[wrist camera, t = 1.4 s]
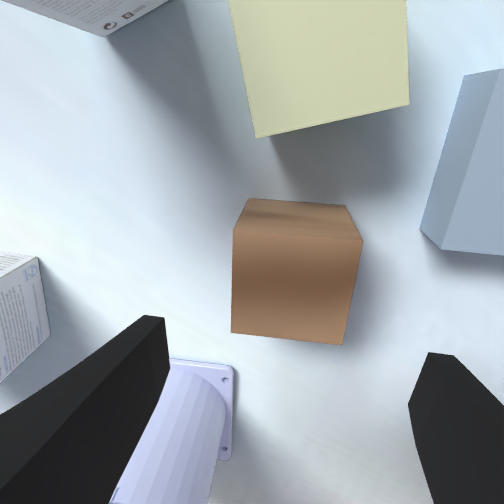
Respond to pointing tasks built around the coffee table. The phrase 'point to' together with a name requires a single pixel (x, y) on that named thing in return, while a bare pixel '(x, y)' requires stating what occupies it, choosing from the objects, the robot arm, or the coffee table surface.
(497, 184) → the base slab
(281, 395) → the coffee table surface
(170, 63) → the coffee table surface
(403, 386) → the coffee table surface
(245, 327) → the walnut cube
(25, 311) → the light bulb box
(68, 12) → the skincare box
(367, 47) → the olive cube
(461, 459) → the robot arm
